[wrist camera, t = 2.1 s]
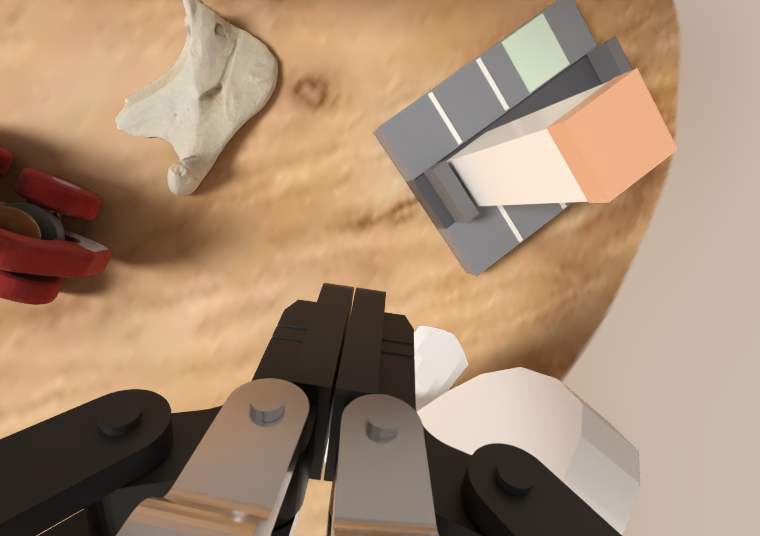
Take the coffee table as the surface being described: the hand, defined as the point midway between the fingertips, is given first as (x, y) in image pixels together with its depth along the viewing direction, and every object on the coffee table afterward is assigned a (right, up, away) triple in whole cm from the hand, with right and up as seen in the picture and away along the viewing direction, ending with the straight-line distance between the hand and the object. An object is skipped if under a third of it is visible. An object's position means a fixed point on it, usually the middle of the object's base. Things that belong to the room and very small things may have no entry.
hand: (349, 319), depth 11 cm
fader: (+7, +8, +19) cm, 22 cm away
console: (+10, +10, +22) cm, 26 cm away
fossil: (-11, +11, +18) cm, 24 cm away
